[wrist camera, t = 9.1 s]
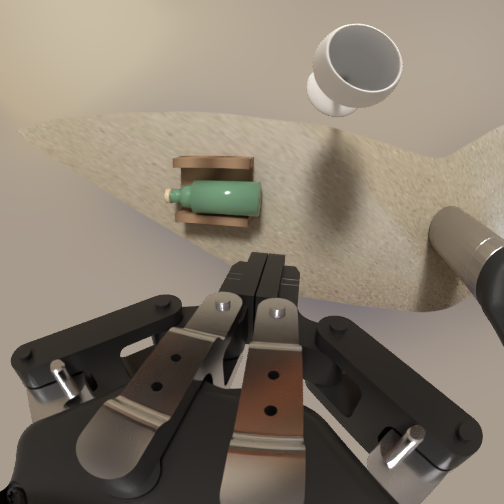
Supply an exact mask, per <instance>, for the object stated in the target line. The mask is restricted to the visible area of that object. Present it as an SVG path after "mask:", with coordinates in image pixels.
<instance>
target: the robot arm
mask: <svg viewBox="0 0 504 504" xmlns="http://www.w3.org/2000/svg"><path fill="white" fill-rule="evenodd" d="M429 239H430V243H431V245H432V247H433V248H434V250H435V251H436V252H437V253H438V254H439V255H440V256H441V257H442V259H443V260H444V261H445V262H446V263H447V264H448V265H449V267H450V268H451V269H452V270H453V271H454V272H455V274H456V275H457V276H458V277H459V278H460V280H461V281H462V282H463V283H464V284H465V286H466V287H467V288H468V289H469V291H470V292H471V293H472V294H473V296H474V297H475V298H476V300H477V301H478V302H479V304H480V305H481V307H482V310H483V312H484V314H485V315H486V317H487V318H488V320H489V321H490V323H491V324H492V326H493V328H494V329H495V331H496V333H497V335H498V336H499V338H500V340H501V342H502V344H503V346H504V239H503V238H501V237H500V236H499V235H497V234H496V233H495V232H493V231H492V230H490V229H489V228H488V227H486V226H485V225H483V224H482V223H481V222H479V221H478V220H476V219H475V218H473V217H472V216H470V215H469V214H467V213H466V212H464V211H463V210H461V209H459V208H458V207H454V206H452V207H446V208H444V209H442V210H441V211H440V212H439V213H437V215H436V216H435V217H434V219H433V221H432V223H431V226H430V230H429ZM299 279H300V272H299V271H298V269H297V268H296V267H294V266H285V255H280V254H269V255H268V253H258V252H252V253H251V255H250V257H249V260H248V262H243V261H239V262H237V263H236V264H234V265H233V266H232V267H231V269H230V271H229V273H228V275H227V277H226V279H225V280H224V282H223V284H222V286H221V288H220V290H219V292H217V293H213V294H211V295H209V296H207V297H206V298H205V300H204V301H203V302H202V304H201V305H200V306H192V307H182V303H181V300H180V299H179V298H178V297H176V296H173V295H158V296H155V297H152V298H150V299H147V300H144V301H141V302H139V303H136V304H133V305H131V306H128V307H125V308H122V309H120V310H117V311H114V312H112V313H109V314H106V315H103V316H101V317H98V318H95V319H93V320H90V321H87V322H84V323H81V324H79V325H76V326H73V327H71V328H68V329H65V330H62V331H59V332H57V333H54V334H51V335H48V336H45V337H43V338H40V339H37V340H34V341H31V342H29V343H26V344H24V345H21V346H20V347H18V348H17V349H16V350H15V351H14V353H13V355H12V357H11V365H12V367H13V368H14V370H15V371H16V373H17V374H18V376H19V377H20V379H21V380H22V383H23V384H24V386H25V387H26V389H27V395H28V400H29V407H30V412H31V417H32V422H33V424H31V425H30V426H29V427H28V428H26V430H25V431H24V432H23V434H22V435H21V437H20V439H19V442H18V445H17V453H16V462H15V467H14V472H13V475H12V479H11V481H10V483H9V485H8V486H7V487H6V488H5V489H4V490H2V491H0V504H420V503H421V502H422V501H423V500H424V499H425V498H426V497H427V496H428V495H429V494H430V493H431V492H432V491H433V490H434V489H435V487H436V486H437V485H438V484H439V483H440V482H441V481H442V479H443V478H444V477H445V476H446V475H447V474H448V473H450V472H451V471H453V470H454V469H455V468H456V467H458V466H459V465H460V464H462V463H463V462H464V461H466V460H467V459H468V458H469V457H470V456H472V455H473V454H474V453H475V452H476V451H477V450H478V449H479V448H480V446H481V444H482V439H483V435H482V429H481V427H480V425H479V424H478V422H477V421H476V420H475V419H474V418H472V417H471V416H470V415H469V414H467V413H466V412H465V411H464V410H463V409H461V408H460V407H459V406H458V405H456V404H455V403H454V402H453V401H451V400H450V399H449V398H448V397H447V396H445V395H444V394H443V393H442V392H440V391H439V390H438V389H437V388H435V387H434V386H433V385H432V384H430V383H429V382H428V381H426V380H425V379H424V378H423V377H422V376H420V375H419V374H418V373H417V372H415V371H414V370H413V369H412V368H410V367H409V366H408V365H407V364H405V363H404V362H403V361H402V360H400V359H399V358H398V357H397V356H395V355H394V354H393V353H392V352H390V351H389V350H388V349H386V348H385V347H384V346H383V345H382V344H380V343H379V342H378V341H376V340H375V339H374V338H373V337H371V336H370V335H369V334H368V333H366V332H365V331H364V330H363V329H361V328H360V327H359V326H358V325H356V324H355V323H354V322H352V321H351V320H349V319H347V318H345V317H341V316H328V317H325V318H323V319H321V320H320V321H319V322H318V323H317V322H314V321H311V320H309V319H307V318H305V317H303V316H302V315H301V314H300V313H299V311H298V308H297V303H298V292H299ZM150 336H152V340H153V344H154V345H153V346H150V347H148V348H146V349H143V350H141V351H139V352H136V353H134V354H132V355H129V356H126V357H120V353H121V350H122V349H123V348H124V347H126V346H128V345H131V344H133V343H135V342H138V341H140V340H142V339H145V338H147V337H150ZM245 344H249V349H248V355H247V360H246V366H245V372H244V378H243V383H242V388H241V389H230V386H231V384H232V381H233V379H234V377H235V375H236V372H237V370H238V367H239V365H240V363H241V360H242V357H243V356H242V355H243V354H242V353H243V350H244V347H245ZM303 379H304V380H305V383H306V386H307V387H308V389H309V390H310V391H311V392H312V393H313V394H314V396H315V397H316V398H317V399H318V400H319V401H320V402H321V403H322V404H323V406H325V408H326V409H327V410H328V411H329V412H330V413H331V414H332V415H333V416H334V417H335V418H336V420H337V421H338V422H339V423H340V424H341V425H342V426H343V427H344V428H345V429H346V430H347V431H348V432H349V433H350V435H351V436H352V437H353V438H354V439H355V440H356V441H357V442H358V443H359V444H360V445H361V446H362V447H363V448H364V449H365V450H366V451H367V452H368V453H369V456H368V459H367V467H368V470H369V471H368V470H367V468H366V467H365V466H364V465H363V464H362V463H361V462H360V460H359V459H358V458H357V457H356V456H355V455H354V454H353V452H352V451H351V450H350V449H349V448H348V447H347V446H346V444H345V443H344V442H343V441H342V440H341V439H340V437H339V436H338V435H337V434H336V433H335V431H333V429H332V428H331V427H330V426H329V425H328V423H327V422H326V421H325V420H324V419H323V418H322V417H321V416H320V415H319V414H317V413H316V412H315V411H313V410H312V409H310V408H308V407H306V406H304V405H303Z"/></svg>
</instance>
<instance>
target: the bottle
mask: <svg viewBox="0 0 504 504" xmlns="http://www.w3.org/2000/svg"><path fill="white" fill-rule="evenodd" d="M261 195H262V189H261V182H247V181H220V180H195V181H194V182H193V184H192V185H183V186H182V188H181V189H172V188H168V189H166V191H165V196H164V197H165V202H166V203H181V205H182V207H189V208H191V209H192V211H193V212H194V213H208V214H226V215H241V216H256V217H258V216H259V214H260V208H261Z"/></svg>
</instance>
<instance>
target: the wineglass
mask: <svg viewBox="0 0 504 504" xmlns="http://www.w3.org/2000/svg"><path fill="white" fill-rule="evenodd" d="M402 70H403V64H402V57H401V54H400V52H399V50H398V48H397V46H396V45H395V43H394V42H393V41H392V40H391V39H390V38H389V37H388V36H387V35H386V34H384V33H383V32H382V31H380V30H378V29H376V28H374V27H371V26H368V25H363V24H349V25H345V26H342V27H340V28H338V29H336V30H334V31H333V32H331V33H330V34H329V35H328V36H326V37H325V39H323V41H322V42H321V43H320V44H319V46H318V48H317V50H316V52H315V55H314V60H313V72H312V74H311V75H310V76H309V78H308V81H307V95H308V97H309V100H310V102H311V103H312V104H313V106H314V107H315V108H316V109H317V110H319V111H320V112H322V113H323V114H326V115H328V116H332V117H343V116H347V115H349V114H351V113H353V112H354V111H355V110H356V109H357V108H364V107H369V106H372V105H375V104H377V103H379V102H381V101H383V100H384V99H385V98H387V97H388V96H389V95H390V94H391V93H392V92H393V90H394V89H395V87H396V86H397V84H398V82H399V80H400V78H401V75H402Z"/></svg>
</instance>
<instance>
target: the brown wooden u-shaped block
mask: <svg viewBox="0 0 504 504" xmlns="http://www.w3.org/2000/svg"><path fill="white" fill-rule="evenodd" d="M253 160H254V157H234V156H181V157H177V158H174V159H173V168H181V183H182V186H183V185H192V184H193V182H194V181H195V180H220V181H247V182H253ZM251 220H252V216H241V215H226V214H208V213H194V212H193V211H192V209H191V208H189V207H183V208H182V209H181V210H179V211H178V212H177V213H175V221H176V222H185V223H199V224H212V225H225V226H237V227H248V225H249V224H250V222H251Z"/></svg>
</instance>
